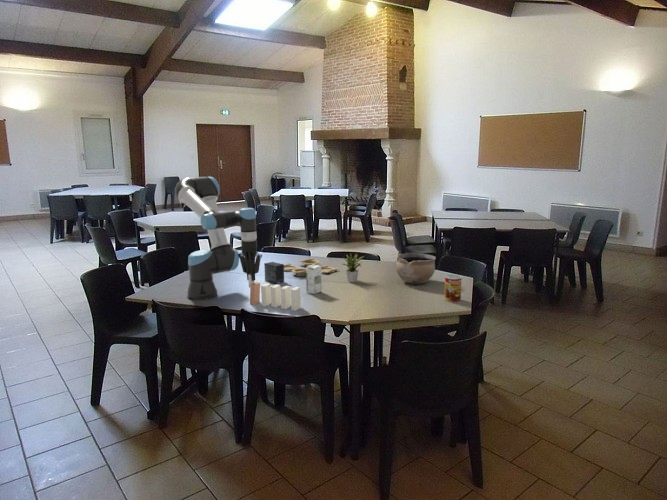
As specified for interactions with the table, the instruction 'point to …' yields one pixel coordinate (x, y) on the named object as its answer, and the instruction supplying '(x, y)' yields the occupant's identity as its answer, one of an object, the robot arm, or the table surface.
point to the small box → (274, 272)
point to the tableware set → (302, 271)
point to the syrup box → (313, 279)
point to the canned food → (452, 288)
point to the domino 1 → (254, 293)
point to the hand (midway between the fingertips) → (251, 286)
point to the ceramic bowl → (415, 267)
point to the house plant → (352, 268)
